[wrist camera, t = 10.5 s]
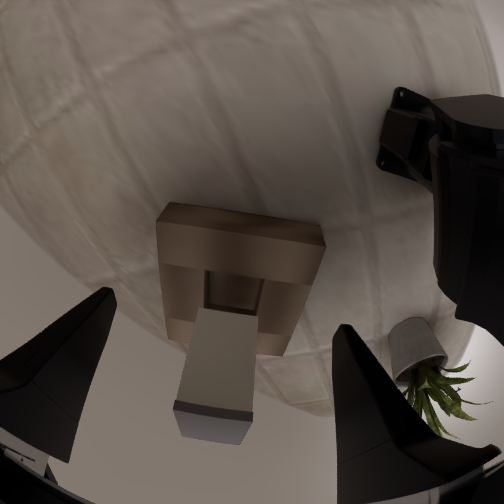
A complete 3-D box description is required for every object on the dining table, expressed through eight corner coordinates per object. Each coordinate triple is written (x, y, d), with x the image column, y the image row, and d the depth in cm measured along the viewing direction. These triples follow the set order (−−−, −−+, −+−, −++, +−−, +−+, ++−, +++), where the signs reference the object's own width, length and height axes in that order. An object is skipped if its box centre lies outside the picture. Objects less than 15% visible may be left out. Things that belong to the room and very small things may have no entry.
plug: (259, 316, 18) (252, 422, 12) (247, 361, 21) (239, 445, 15) (198, 306, 18) (172, 409, 12) (198, 354, 21) (182, 436, 15)
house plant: (352, 375, 35) (364, 478, 21) (336, 321, 28) (355, 471, 14) (440, 345, 31) (470, 441, 17) (452, 280, 24) (511, 408, 10)
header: (319, 225, 21) (326, 246, 18) (282, 334, 29) (282, 356, 27) (169, 202, 21) (155, 221, 18) (175, 317, 29) (168, 339, 26)
